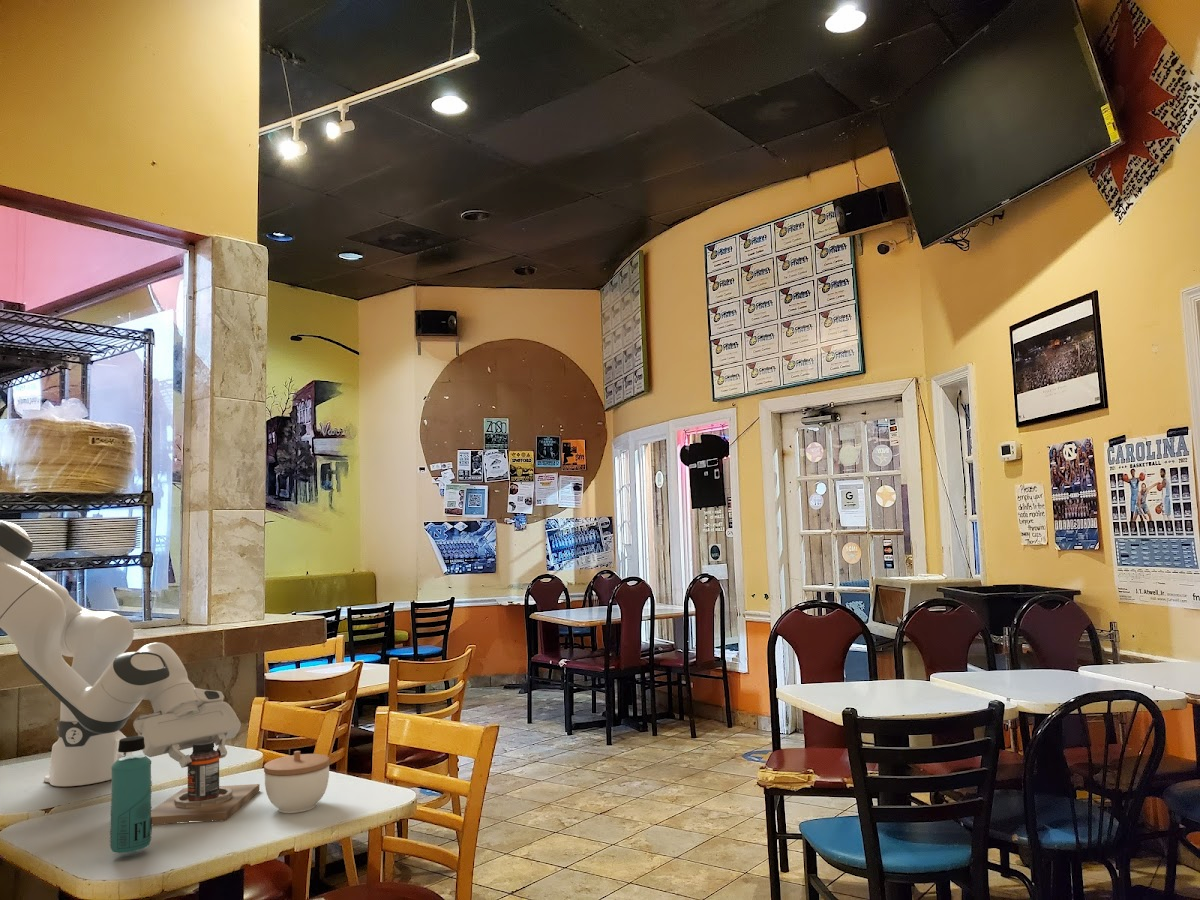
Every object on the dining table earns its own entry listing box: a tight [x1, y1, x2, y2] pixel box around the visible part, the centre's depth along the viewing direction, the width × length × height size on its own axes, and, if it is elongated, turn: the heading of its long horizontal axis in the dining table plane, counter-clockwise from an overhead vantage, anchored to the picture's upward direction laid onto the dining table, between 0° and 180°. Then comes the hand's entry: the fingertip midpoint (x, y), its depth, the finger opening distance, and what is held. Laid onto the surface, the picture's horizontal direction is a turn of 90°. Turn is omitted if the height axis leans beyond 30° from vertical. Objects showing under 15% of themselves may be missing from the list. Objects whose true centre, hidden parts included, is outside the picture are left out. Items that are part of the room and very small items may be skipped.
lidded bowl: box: [263, 750, 331, 814], centre depth 176 cm, size 13×13×11 cm
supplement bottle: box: [187, 740, 220, 802], centre depth 180 cm, size 6×6×11 cm
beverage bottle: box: [109, 735, 153, 854], centre depth 153 cm, size 6×7×20 cm
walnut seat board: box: [151, 783, 261, 825], centre depth 179 cm, size 20×16×2 cm
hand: (205, 760), depth 179 cm, fingers open, 6 cm apart
